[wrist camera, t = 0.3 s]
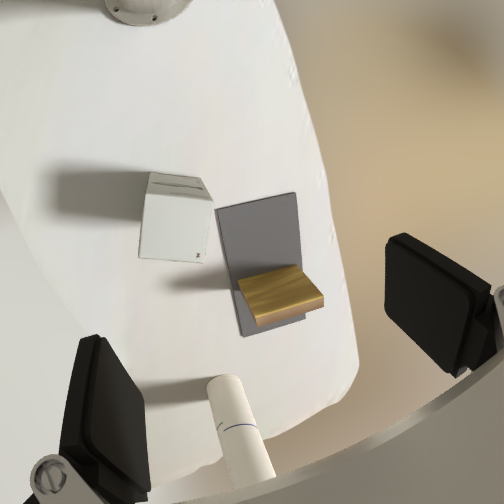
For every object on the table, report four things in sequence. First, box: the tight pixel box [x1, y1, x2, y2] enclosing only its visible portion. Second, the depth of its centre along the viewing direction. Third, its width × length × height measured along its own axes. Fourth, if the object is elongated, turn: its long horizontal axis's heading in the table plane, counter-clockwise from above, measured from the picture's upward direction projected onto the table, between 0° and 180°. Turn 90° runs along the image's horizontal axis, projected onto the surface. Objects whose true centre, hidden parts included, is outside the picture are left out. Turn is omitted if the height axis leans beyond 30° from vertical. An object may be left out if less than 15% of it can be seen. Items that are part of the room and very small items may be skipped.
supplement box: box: [138, 172, 214, 264], centre depth 38 cm, size 7×7×13 cm
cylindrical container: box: [206, 374, 276, 490], centre depth 50 cm, size 7×7×25 cm
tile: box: [238, 264, 324, 327], centre depth 48 cm, size 2×10×10 cm, turn 98°
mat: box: [217, 193, 306, 338], centre depth 52 cm, size 24×12×1 cm, turn 8°
